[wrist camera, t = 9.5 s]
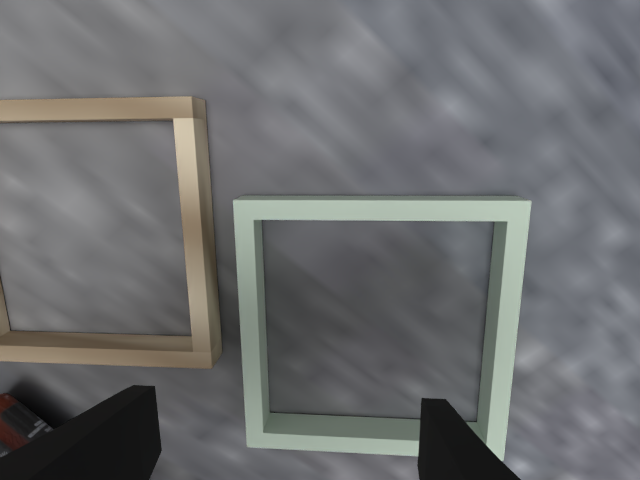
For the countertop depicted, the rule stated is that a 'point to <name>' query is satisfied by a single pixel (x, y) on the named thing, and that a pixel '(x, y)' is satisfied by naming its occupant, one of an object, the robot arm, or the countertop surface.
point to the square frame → (504, 210)
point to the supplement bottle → (18, 425)
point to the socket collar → (196, 235)
